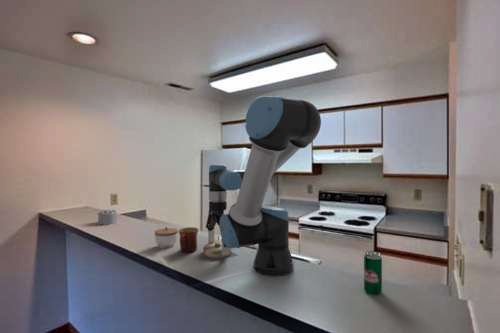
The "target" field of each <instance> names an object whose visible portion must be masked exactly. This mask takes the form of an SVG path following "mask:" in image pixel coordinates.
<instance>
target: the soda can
mask: <svg viewBox="0 0 500 333" xmlns="http://www.w3.org/2000/svg"><path fill="white" fill-rule="evenodd" d="M364 253H365V254H364V255H363V289H364V291H365V293H366V294H368V295H372V296H379V295H381V294H382V292H383V257H382V255H381V253H380V252H377V251H370V250H369V251H368V250H367V251H365V252H364Z"/></svg>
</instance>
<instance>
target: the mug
mask: <svg viewBox="0 0 500 333" xmlns="http://www.w3.org/2000/svg"><path fill="white" fill-rule="evenodd" d="M198 232H199V228H198V227H193V226H192V227H190V226H189V227H183V228H182V227H181V228H180V229H178V235H179V246H180V248H179V249H180V252H182V253H183V254H188V253H189V254H190V253H194V252H197V250H198Z"/></svg>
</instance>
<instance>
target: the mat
mask: <svg viewBox="0 0 500 333" xmlns="http://www.w3.org/2000/svg"><path fill="white" fill-rule="evenodd" d="M200 254H201V255H202V256H204V253H203V252H200ZM236 256H238V254H236V253H235V252H233V251H231V255H230V256H228V257H224V258H208V257H205V258H206V259H207V260H209V261H210V262H214V261H215V262H216V261H219V260H224V259H228V258H233V257H236Z"/></svg>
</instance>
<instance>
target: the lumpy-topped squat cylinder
mask: <svg viewBox="0 0 500 333" xmlns="http://www.w3.org/2000/svg"><path fill="white" fill-rule="evenodd" d="M97 216H98V218H97V220H98V221H97V223H99V225H100V224H103V225H102V226H110V225H109V224H113V225H115V223H116V224H117V223H118V217H117V216H118V212H117V211H116V209H103V210H100V211H99V212H98V213H97Z"/></svg>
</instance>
